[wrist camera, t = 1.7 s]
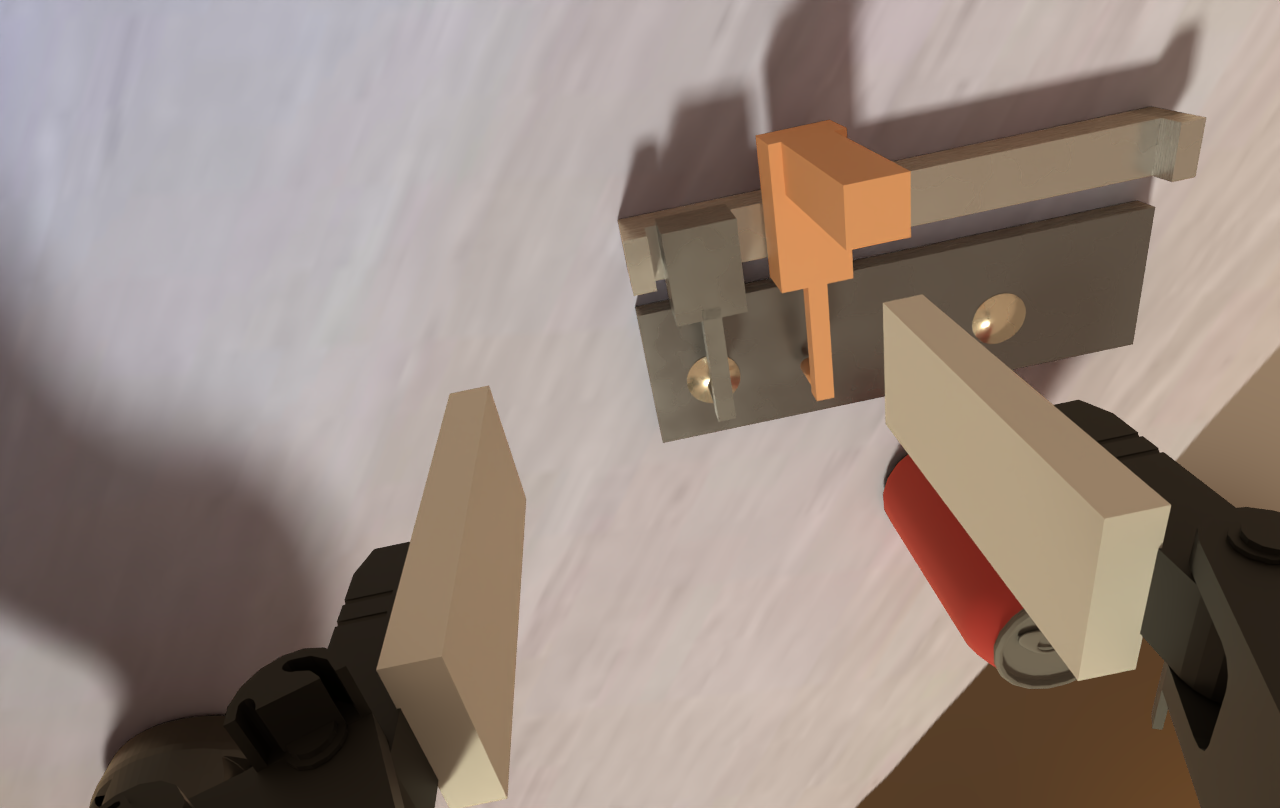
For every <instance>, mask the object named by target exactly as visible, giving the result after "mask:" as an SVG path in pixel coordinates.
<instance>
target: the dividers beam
mask: <svg viewBox="0 0 1280 808" xmlns="http://www.w3.org/2000/svg"><path fill="white" fill-rule="evenodd" d="M1205 122H1206V117H1202V116H1197V115H1192V114H1187V113H1182V112H1177V111H1172V110H1167V109H1162V108H1157V107H1152V106H1151V107H1146V108H1141V109H1137V110H1132V111H1127V112H1123V113H1118V114H1113V115H1108V116H1104V117H1099V118H1094V119H1090V120H1085V121H1080V122H1076V123H1071V124H1066V125H1061V126H1057V127H1052V128H1047V129H1043V130H1038V131H1033V132H1028V133H1024V134H1019V135H1014V136H1010V137H1005V138H1000V139H996V140H991V141H986V142H981V143H977V144H972V145H967V146H963V147H958V148H953V149H949V150H944V151H939V152H934V153H930V154H925V155H920V156H916V157H911V158H906V159H902V160H897V161H892V162H894V163H896V164H898V165H900V166H902V167H903V168H905V169H907V170H909V171H911V227H912V226H917V225H922V224H927V223H931V222H936V221H941V220H945V219H950V218H955V217H960V216H964V215H969V214H974V213H978V212H983V211H988V210H993V209H997V208H1002V207H1007V206H1012V205H1016V204H1021V203H1026V202H1030V201H1035V200H1040V199H1045V198H1049V197H1054V196H1059V195H1063V194H1068V193H1073V192H1078V191H1082V190H1087V189H1092V188H1096V187H1101V186H1106V185H1111V184H1115V183H1120V182H1125V181H1130V180H1134V179H1139V178H1144V177H1148V176H1154V177H1157V178H1160V179H1164V180H1167V181H1170V182H1174V181H1179V180H1184V179H1189V178H1193V177H1195V176H1196V170H1197V165H1198V159H1199V154H1200V149H1201V143H1202V138H1203V133H1204V127H1205ZM618 225H619V230H620V235H621V240H622V245H623V250H624V255H625V260H626V265H627V270H628V274H629V278H630V282H631V286H632V290H633V294H634V296H636V295H641V294H646V293H650V292H655V291H657V288H656V282H655V281H658V280H662V279H665V280H666V286H667V292H668V297H669V303H670V307H671V310H672V313H673V316H674V319H675V322H676V325H677V327H678V326H683V325H688V324H693V323H697V322H701V324H702V330H703V336H704V343H705V349H706V355H707V362H708V368H709V375H710V380H709V382H708V389H709V392H710V394H711V397H712V400H713V402H714V406H715V413H716V416H717V418H718V421H719V422H720V421H725V420H730V419H735V418H736V413H735V406H734V399H733V392H732V385H731V378H730V371H729V364H728V357H727V349H726V342H725V335H724V328H723V321H722V317H726V316H731V315H735V314H740V313H745V312H748V309H747V301H746V293H745V285H744V276H743V268H742V262H747V261H752V260H757V259H761V258H766V257H768V252H767V242H766V232H765V223H764V213H763V203H762V193H761V189H760V190H756V191H751V192H746V193H742V194H737V195H732V196H728V197H723V198H718V199H713V200H709V201H704V202H699V203H695V204H690V205H685V206H681V207H676V208H671V209H666V210H662V211H657V212H652V213H648V214H643V215H638V216H633V217H629V218H624V219H619V220H618Z"/></svg>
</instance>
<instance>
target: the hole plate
mask: <svg viewBox="0 0 1280 808" xmlns="http://www.w3.org/2000/svg"><path fill="white" fill-rule="evenodd" d="M1154 211H1155V207H1154V206H1151V205H1148V204H1146V203H1143V202H1140V201H1138V200H1137V201H1132V202H1127V203H1123V204H1118V205H1113V206H1109V207H1104V208H1099V209H1094V210H1090V211H1085V212H1080V213H1075V214H1071V215H1066V216H1061V217H1057V218H1052V219H1047V220H1042V221H1038V222H1033V223H1028V224H1023V225H1019V226H1014V227H1009V228H1005V229H1000V230H995V231H990V232H986V233H981V234H976V235H971V236H967V237H962V238H957V239H953V240H948V241H943V242H938V243H934V244H929V245H924V246H919V247H915V248H910V249H905V250H901V251H896V252H891V253H886V254H882V255H877V256H872V257H868V258H863V259H858V260H853V278H852V279H847V280H843V281H838V282H833V283H828V284H827V288H828V304H829V320H830V336H831V352H832V368H833V384H834V398H830V399H825V400H820V401H816V399H815V397H814V396H813V394H812V391H811V384H810V383H809V381H808V379H807V378H806V376H805V375H804V373H803V371H802V370H801V368H800V365H801V362H802V361H803V360H804V359H806V358H809V354H808V341H807V329H806V316H805V304H804V291H803V289H800V290H795V291H791V292H786V293H781V291H780V290H779V288H778V287H777V286H776V284H775V283H774V282H773V280H772V279H771V278H768V279H764V280H759V281H754V282H749V283H745V284H744V285H745V293H746V301H747V309H748V312H745V313H740V314H735V315H731V316H726V317H722V321H723V328H724V335H725V342H726V349H727V357H728V364H729V371H730V378H731V385H732V392H733V399H734V406H735V413H736V418H735V419H730V420H725V421H720V422H719V421H718V418H717V416H716V413H715V406H714V402H713V400H712V397H711V394H710V392H709V389H708V382H709V380H710V375H709V368H708V362H707V355H706V349H705V343H704V336H703V330H702V324H701V322H697V323H693V324H688V325H683V326H678V327H677V325H676V322H675V319H674V316H673V313H672V310H671V307H670V303H669V300H664V301H660V302H655V303H650V304H645V305H641V306H636V307H635V309H636V314H637V319H638V324H639V328H640V333H641V338H642V343H643V348H644V353H645V358H646V363H647V368H648V373H649V378H650V382H651V387H652V392H653V397H654V402H655V407H656V412H657V417H658V422H659V427H660V431H661V436H662V440H663V443H665V442H669V441H674V440H679V439H684V438H689V437H693V436H698V435H703V434H708V433H712V432H717V431H722V430H727V429H731V428H736V427H741V426H746V425H750V424H755V423H760V422H765V421H769V420H774V419H779V418H784V417H789V416H793V415H798V414H803V413H808V412H812V411H817V410H822V409H827V408H831V407H836V406H841V405H846V404H850V403H855V402H860V401H865V400H869V399H874V398H879V397H884V396H885V375H884V332H883V303H884V302H888V301H893V300H898V299H903V298H907V297H912V296H917V295H924V296H925V297H926V298H927V299H928V300H930V301H931V302H932V303H933V304H934V305H935V306H937V307H938V308H939V309H940V310H941V311H943V312H944V313H945V314H946V315H947V316H948V317H950V318H951V319H952V320H953V321H954V322H956V323H957V324H958V325H959V326H960V327H961V328H963V329H964V330H965V331H966V332H967V333H969V334H970V335H971V336H972V337H973V338H975V339H976V340H977V341H978V342H979V343H980V344H982V345H983V346H984V347H985V348H986V349H988V350H989V351H990V352H991V353H992V354H993V355H995V356H996V357H997V358H998V359H999V360H1001V361H1002V362H1003V363H1004V364H1005V365H1006V366H1008V367H1009V368H1010V369H1011V370H1012V369H1017V368H1022V367H1027V366H1031V365H1036V364H1041V363H1046V362H1050V361H1055V360H1060V359H1065V358H1069V357H1074V356H1079V355H1084V354H1088V353H1093V352H1098V351H1103V350H1108V349H1112V348H1117V347H1122V346H1127V345H1131V344H1133V340H1134V334H1135V328H1136V322H1137V315H1138V309H1139V303H1140V297H1141V291H1142V285H1143V279H1144V272H1145V266H1146V260H1147V254H1148V248H1149V242H1150V236H1151V229H1152V223H1153V217H1154Z"/></svg>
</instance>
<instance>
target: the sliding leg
mask: <svg viewBox="0 0 1280 808" xmlns="http://www.w3.org/2000/svg"><path fill="white" fill-rule="evenodd" d="M756 145H757V155H758V164H759V174H760V184H761V193H762V203H763V213H764V223H765V232H766V242H767V252H768V261H769V271H770V277H771V279H772V280H773V282H774V283H775V284H776V286H777V287H778V288H779V290H780V291H781V293H786V292H791V291H795V290H800V289H803V291H804V304H805V316H806V329H807V341H808V354H809V358H806V359H804V360H803V361H802V362H801V365H800V368H801V370H802V371H803V373H804V375H805V376H806V378H807V379H808V381H809V383H810V384H811V391H812V394H813V396H814V397H815V399H816V401H820V400H825V399H830V398H834V384H833V368H832V352H831V336H830V320H829V304H828V288H827V284H828V283H833V282H838V281H843V280H847V279H852V278H853V259H852V250H853V249H857V248H862V247H867V246H872V245H876V244H881V243H886V242H890V241H895V240H900V239H905V238H909V237H911V171H909V170H907V169H905V168H903V167H902V166H900V165H898V164H896V163H894V162H892V161H890V160H888V159H886V158H884V157H883V156H881V155H879V154H877V153H875V152H873V151H871V150H869V149H867V148H865V147H863V146H862V145H860V144H858V143H856V142H854V141H852V140H850V139H848V138H847V128H846V127H844V126H842V125H839V124H837V123H835V122H833V121H831V120H826V121H821V122H817V123H812V124H807V125H803V126H798V127H793V128H789V129H784V130H779V131H775V132H770V133H765V134H760V135H756Z"/></svg>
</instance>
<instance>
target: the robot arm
mask: <svg viewBox="0 0 1280 808" xmlns="http://www.w3.org/2000/svg"><path fill="white" fill-rule="evenodd" d="M883 332H884V375H885V419H886V425H887V426H888V428H889V429H890V430H891V432H892V433H893V434H894V436H895V437H896V438H897V440H898V441H899V442H900V444H901V445H902V446H903V448H904V449H905V450H906V452H907V453H908V454H909V456H910V457H911V458H912V460H913V461H914V462H915V464H916V465H917V466H918V468H919V469H920V470H921V472H922V473H923V474H924V476H925V477H926V478H927V480H928V481H929V482H930V484H931V485H932V486H933V488H934V489H935V490H936V492H937V493H938V494H939V496H940V497H941V498H942V500H943V501H944V502H945V504H946V505H947V506H948V508H949V509H950V510H951V512H952V513H953V514H954V516H955V517H956V518H957V520H958V521H959V522H960V524H961V525H962V526H963V528H964V529H965V530H966V532H967V533H968V534H969V536H970V537H971V538H972V540H973V541H974V542H975V544H976V545H977V546H978V548H979V549H980V551H981V552H982V553H983V555H984V556H985V557H986V559H987V560H988V561H989V563H990V564H991V565H992V567H993V568H994V569H995V571H996V572H997V573H998V575H999V576H1000V577H1001V579H1002V580H1003V581H1004V583H1005V584H1006V585H1007V587H1008V588H1009V589H1010V591H1011V592H1012V593H1013V595H1014V596H1015V597H1016V599H1017V600H1018V601H1019V603H1020V604H1021V605H1022V607H1023V608H1024V609H1025V611H1026V612H1027V613H1028V615H1029V616H1030V617H1031V619H1032V620H1033V621H1034V623H1035V624H1036V625H1037V627H1038V628H1039V629H1040V631H1041V632H1042V633H1043V635H1044V636H1045V637H1046V639H1047V640H1048V641H1049V643H1050V644H1051V645H1052V647H1053V648H1054V649H1055V651H1056V652H1057V653H1058V655H1059V656H1060V657H1061V659H1062V660H1063V661H1064V663H1065V664H1066V665H1067V667H1068V668H1069V669H1070V671H1071V672H1072V673H1073V675H1074V676H1075V677H1076V679H1077V680H1078V681H1080V680H1084V679H1090V678H1094V677H1099V676H1104V675H1109V674H1114V673H1119V672H1124V671H1128V670H1133V669H1136V664H1137V660H1138V655H1139V650H1140V646H1141V641H1142V637H1144V638H1145V640H1146V641H1147V642H1148V643H1149V644H1150V645H1151V646H1152V647H1153V648H1154V650H1155V651H1156V652H1157V653H1158V654H1159V655H1160V656H1161V657H1162V659H1164V665H1163V669H1162V673H1161V678H1160V681H1159V686H1158V690H1157V694H1156V698H1155V702H1154V706H1153V710H1152V728H1153V729H1163V726H1164V722H1165V717H1166V714H1167V710H1168V709H1169V712H1170V715H1171V718H1172V721H1173V724H1174V727H1175V730H1176V733H1177V736H1178V739H1179V742H1180V745H1181V748H1182V751H1183V754H1184V758H1185V761H1186V764H1187V767H1188V769H1189V773H1190V776H1191V779H1192V782H1193V785H1194V787H1195V790H1196V793H1197V796H1198V800H1199V803H1200V806H1201V808H1280V512H1277V511H1272V510H1265V509H1257V508H1249V507H1243V508H1235V507H1234V506H1233V505H1232V504H1230V503H1229V502H1227V501H1226V500H1225V499H1224V498H1222V497H1221V496H1220V495H1219V494H1217V493H1216V492H1215V491H1213V490H1212V489H1211V488H1209V487H1208V486H1207V485H1205V484H1204V483H1203V482H1202V481H1200V480H1199V479H1197V478H1196V477H1195V476H1194V475H1192V474H1191V473H1190V472H1189V471H1187V470H1186V469H1185V468H1183V467H1182V466H1181V465H1180V464H1178V463H1177V462H1176V461H1174V460H1173V459H1172V458H1170V457H1169V456H1168V455H1167V454H1165V453H1164V452H1162V453H1160V452H1159V450H1158V448H1157V447H1156V446H1155V445H1154V444H1152V443H1151V442H1150V441H1148V440H1147V439H1146V438H1144V437H1143V436H1142V437H1139V436H1138V432H1137V431H1135V430H1134V429H1133V428H1131V427H1130V426H1129V425H1128V424H1126V423H1125V422H1124V421H1122V420H1121V419H1120V418H1118V417H1117V416H1116V415H1115V414H1113V413H1111V412H1108V411H1106V410H1103V409H1101V408H1098V407H1096V406H1093V405H1091V404H1088V403H1086V402H1083V401H1081V400H1075V401H1070V402H1065V403H1061V404H1056V405H1053V404H1051V403H1050V402H1049V401H1048V400H1047V399H1045V398H1044V397H1043V396H1042V395H1041V394H1040V393H1038V392H1037V391H1036V390H1035V389H1034V388H1032V387H1031V386H1030V385H1029V384H1028V383H1027V382H1025V381H1024V380H1023V379H1022V378H1021V377H1019V376H1018V375H1017V374H1016V373H1015V372H1014V371H1012V370H1011V369H1010V368H1009V367H1008V366H1006V365H1005V364H1004V363H1003V362H1002V361H1001V360H999V359H998V358H997V357H996V356H995V355H993V354H992V353H991V352H990V351H989V350H988V349H986V348H985V347H984V346H983V345H982V344H980V343H979V342H978V341H977V340H976V339H975V338H973V337H972V336H971V335H970V334H969V333H967V332H966V331H965V330H964V329H963V328H961V327H960V326H959V325H958V324H957V323H956V322H954V321H953V320H952V319H951V318H950V317H948V316H947V315H946V314H945V313H944V312H943V311H941V310H940V309H939V308H938V307H937V306H935V305H934V304H933V303H932V302H931V301H930V300H928V299H927V298H926V297H925V296H924V295H917V296H912V297H907V298H903V299H898V300H893V301H888V302H884V303H883ZM525 509H526V497H525V494H524V491H523V488H522V485H521V482H520V479H519V476H518V473H517V470H516V467H515V463H514V460H513V457H512V454H511V451H510V448H509V445H508V442H507V439H506V436H505V433H504V430H503V427H502V424H501V421H500V418H499V415H498V412H497V409H496V406H495V403H494V399H493V396H492V393H491V390H490V387H489V386H485V387H480V388H475V389H470V390H466V391H461V392H456V393H451V394H450V395H449V399H448V403H447V406H446V410H445V414H444V418H443V421H442V425H441V429H440V433H439V436H438V440H437V444H436V448H435V451H434V455H433V459H432V463H431V466H430V470H429V474H428V478H427V481H426V485H425V489H424V493H423V496H422V500H421V504H420V508H419V511H418V515H417V519H416V523H415V526H414V530H413V534H412V538H411V541H410V542H406V543H401V544H397V545H392V546H387V547H382V548H377V549H374V550H373V551H372V552H371V554H370V555H369V556H368V557H367V559H366V560H365V561H364V562H363V563H362V565H361V566H360V567H359V568H358V570H357V571H356V572H355V573H354V575H353V577H352V580H351V583H350V586H349V589H348V592H347V595H346V598H345V605H343V606H342V609H341V612H340V615H339V618H338V620H337V623H338V627H335V629H334V632H333V635H332V638H331V641H330V643H329V646H328V649H326V648H307V649H302V650H299V651H296V652H293V653H290V654H287V655H284V656H281V657H280V658H278V659H277V660H275V661H273V662H272V663H270V664H268V665H267V666H265V667H263V668H262V669H260V670H259V671H258V672H257V673H256V674H255V675H253V676H252V677H251V678H250V679H249V680H248V681H247V682H246V683H245V684H244V685H243V686H242V687H241V688H240V689H239V691H238V692H237V694H236V695H235V697H234V698H233V700H232V701H231V703H230V704H229V706H228V708H227V712H226V716H199V717H190V718H184V719H179V720H174V721H170V722H167V723H163V724H160V725H157V726H155V727H152V728H150V729H148V730H145V731H144V732H142V733H140V734H138V735H136V736H135V737H133V738H132V739H130V740H129V741H128V742H127V743H125V744H124V745H123V746H122V747H121V748H120V749H119V751H118V752H117V753H116V754H115V756H114V757H113V759H112V761H111V762H110V764H109V766H108V768H107V769H106V771H105V773H104V775H103V776H102V778H101V780H100V782H99V783H98V785H97V787H96V789H95V791H94V794H93V796H92V799H91V802H90V807H89V808H434V807H435V801H436V794H437V788H438V787H439V789H440V791H441V793H442V795H443V797H444V798H445V800H446V802H447V804H448V806H449V808H464V807H468V806H473V805H478V804H483V803H488V802H493V801H498V800H502V799H507V795H508V779H509V763H510V747H511V731H512V715H513V700H514V684H515V668H516V652H517V636H518V620H519V604H520V589H521V573H522V557H523V541H524V525H525Z"/></svg>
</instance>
